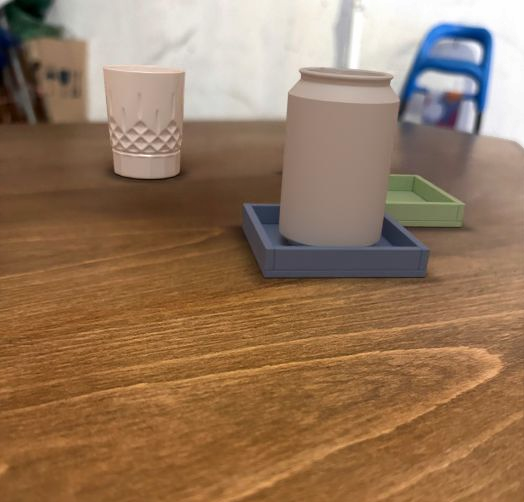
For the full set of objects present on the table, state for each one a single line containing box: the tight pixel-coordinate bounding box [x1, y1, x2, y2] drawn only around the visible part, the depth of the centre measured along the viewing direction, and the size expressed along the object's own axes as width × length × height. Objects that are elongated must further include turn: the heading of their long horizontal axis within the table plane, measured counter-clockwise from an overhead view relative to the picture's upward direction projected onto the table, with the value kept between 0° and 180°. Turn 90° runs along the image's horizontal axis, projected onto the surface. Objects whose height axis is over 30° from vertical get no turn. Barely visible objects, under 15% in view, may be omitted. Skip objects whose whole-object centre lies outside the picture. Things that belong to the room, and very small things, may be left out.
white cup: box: [102, 64, 186, 180], centre depth 67 cm, size 8×8×10 cm
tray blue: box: [241, 202, 431, 279], centre depth 49 cm, size 11×11×2 cm
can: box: [279, 66, 401, 247], centre depth 47 cm, size 8×8×12 cm
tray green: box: [384, 173, 466, 228], centre depth 61 cm, size 11×11×2 cm
